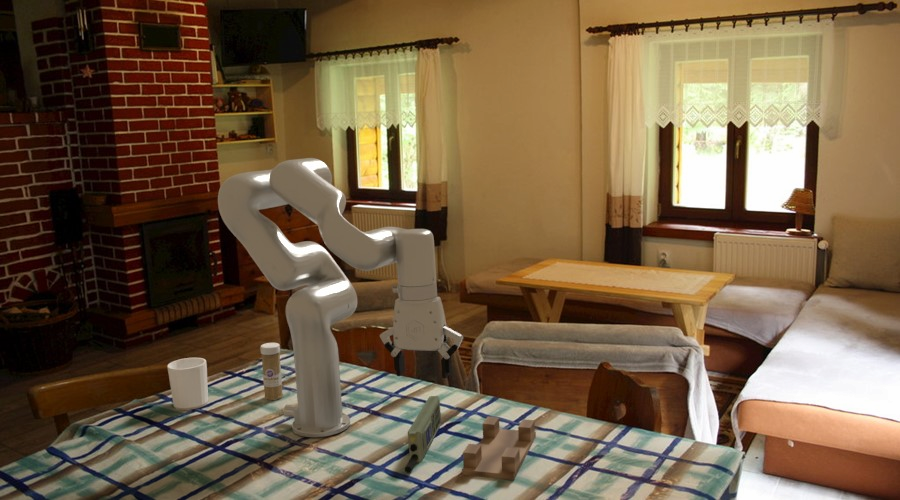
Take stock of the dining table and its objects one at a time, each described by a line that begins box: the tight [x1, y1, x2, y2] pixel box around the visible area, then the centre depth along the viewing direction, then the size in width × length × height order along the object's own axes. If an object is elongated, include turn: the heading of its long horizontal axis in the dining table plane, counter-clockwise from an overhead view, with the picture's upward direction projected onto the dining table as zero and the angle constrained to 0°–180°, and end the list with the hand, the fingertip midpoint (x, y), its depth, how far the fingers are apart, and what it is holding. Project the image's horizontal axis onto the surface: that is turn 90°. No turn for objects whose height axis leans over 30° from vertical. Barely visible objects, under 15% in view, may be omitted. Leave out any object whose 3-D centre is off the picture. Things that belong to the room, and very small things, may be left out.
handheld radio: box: [404, 395, 442, 474], centre depth 159 cm, size 7×3×25 cm
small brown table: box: [461, 415, 537, 481], centre depth 155 cm, size 10×20×4 cm, turn 162°
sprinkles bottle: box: [260, 342, 284, 401], centre depth 191 cm, size 5×5×13 cm
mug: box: [167, 357, 209, 411], centre depth 189 cm, size 11×9×10 cm
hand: (423, 375), depth 157 cm, fingers open, 9 cm apart
